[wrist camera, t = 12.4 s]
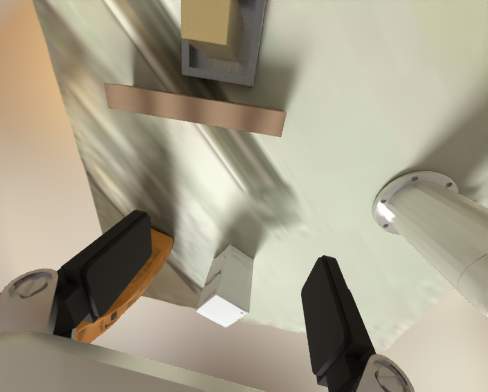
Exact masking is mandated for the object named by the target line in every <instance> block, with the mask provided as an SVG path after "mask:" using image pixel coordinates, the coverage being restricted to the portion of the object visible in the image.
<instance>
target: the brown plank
mask: <svg viewBox="0 0 488 392" xmlns="http://www.w3.org/2000/svg"><path fill="white" fill-rule="evenodd" d="M104 86H105V92H106V97H107V103H108V108H111V109H117V110H123V111H129V112H134V113H140V114H146V115H152V116H158V117H164V118H170V119H176V120H182V121H188V122H194V123H200V124H206V125H212V126H218V127H224V128H230V129H236V130H242V131H248V132H254V133H260V134H266V135H272V136H278V137H281V135H282V131H283V126H284V122H285V118H286V112H284V111H282V110H276V109H270V108H264V107H258V106H252V105H245V104H239V103H233V102H227V101H221V100H215V99H209V98H203V97H197V96H190V95H184V94H178V93H172V92H166V91H160V90H154V89H148V88H142V87H136V86H128V85H118V84H109V83H104Z"/></svg>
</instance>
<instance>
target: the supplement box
mask: <svg viewBox="0 0 488 392" xmlns="http://www.w3.org/2000/svg"><path fill="white" fill-rule="evenodd" d="M253 262H254V260H253V259H251V258H250V257H249V256H247V255H246V254H244V253H243V252H241V251H240V250H238V249H237V248H235V247H234V246H232V245H228V247H227V248H226V249H225V250H224V251H223V252H222V253H221V254H219V255H218V256H217V257H216V258H215V259H214V260H213V262H212V265H211V267H210V270H209V273H208V276H207V279H206V282H205V285H204V288H203V291H202V294H201V297H200V300H199V303H198V306H197V309H196V312H198V313H199V314H201V315H203V316H205V317H207V318H209V319H210V320H213V321H214V322H216V323H218V324H220V325H222V326H224V327H228V326H229V325H231V324H232V323H234V322H235V321H237V320H239V319H240V318H242V317H243V316H245V315H246V314H248V313H249V307H250V296H251V285H252V273H253Z"/></svg>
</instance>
